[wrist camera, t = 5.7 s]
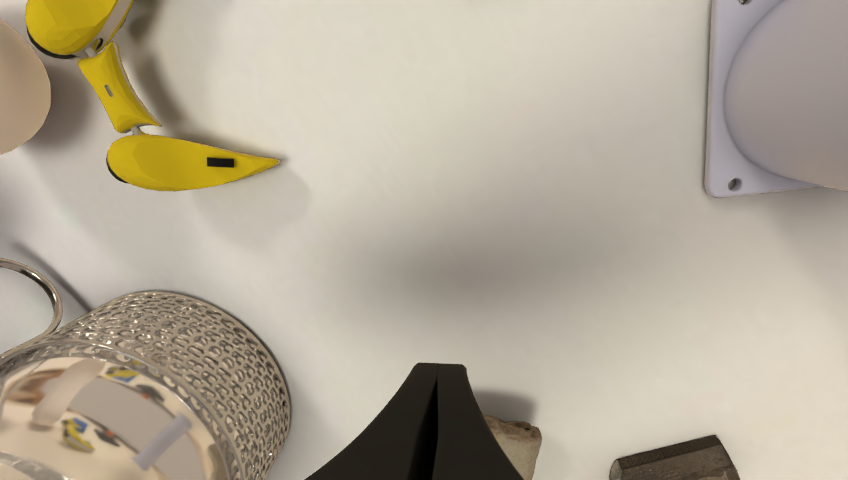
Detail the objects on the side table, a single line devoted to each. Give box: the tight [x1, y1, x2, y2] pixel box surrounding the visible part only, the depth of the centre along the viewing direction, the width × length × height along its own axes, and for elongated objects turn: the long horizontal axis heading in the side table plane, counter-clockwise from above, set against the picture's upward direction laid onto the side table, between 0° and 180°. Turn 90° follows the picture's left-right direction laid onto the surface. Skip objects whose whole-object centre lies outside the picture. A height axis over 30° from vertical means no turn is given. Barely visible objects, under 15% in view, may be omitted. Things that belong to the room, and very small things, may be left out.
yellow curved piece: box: [25, 0, 280, 191], centre depth 18 cm, size 10×4×10 cm
